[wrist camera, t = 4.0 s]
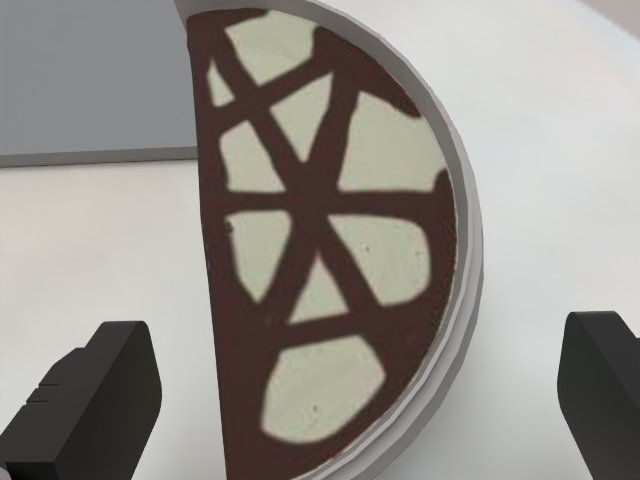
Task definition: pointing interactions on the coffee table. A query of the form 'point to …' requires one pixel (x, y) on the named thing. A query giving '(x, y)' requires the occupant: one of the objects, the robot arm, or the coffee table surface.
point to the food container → (327, 238)
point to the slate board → (94, 82)
